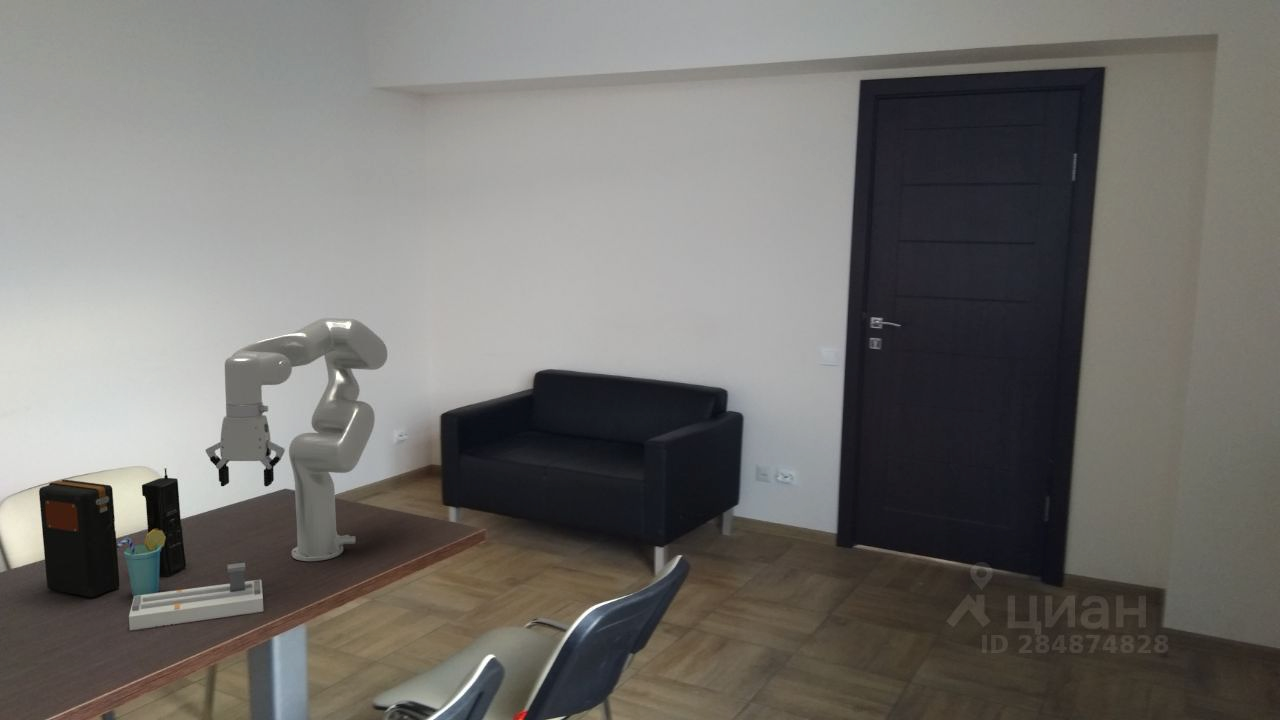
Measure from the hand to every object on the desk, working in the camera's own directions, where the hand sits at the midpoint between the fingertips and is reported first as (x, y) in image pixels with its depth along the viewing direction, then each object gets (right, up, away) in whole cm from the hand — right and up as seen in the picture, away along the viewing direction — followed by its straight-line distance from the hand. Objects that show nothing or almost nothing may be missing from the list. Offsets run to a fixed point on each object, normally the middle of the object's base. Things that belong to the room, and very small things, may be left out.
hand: (246, 484), depth 216 cm
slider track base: (-7, -27, -7) cm, 29 cm away
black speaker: (-39, -25, +4) cm, 47 cm away
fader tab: (0, -23, -5) cm, 23 cm away
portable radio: (-26, -23, +15) cm, 38 cm away
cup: (-24, -26, +1) cm, 35 cm away
